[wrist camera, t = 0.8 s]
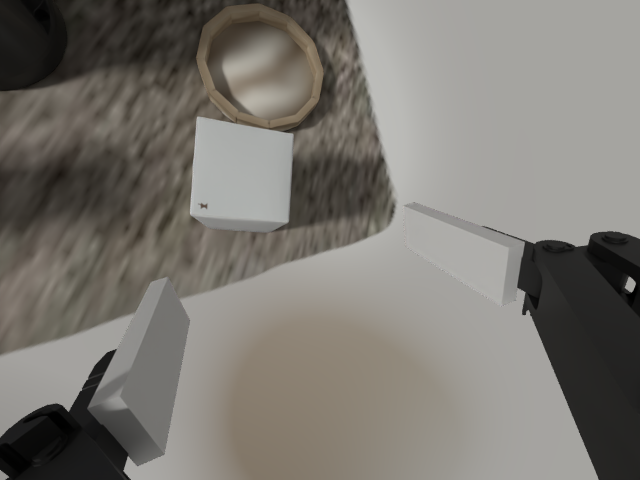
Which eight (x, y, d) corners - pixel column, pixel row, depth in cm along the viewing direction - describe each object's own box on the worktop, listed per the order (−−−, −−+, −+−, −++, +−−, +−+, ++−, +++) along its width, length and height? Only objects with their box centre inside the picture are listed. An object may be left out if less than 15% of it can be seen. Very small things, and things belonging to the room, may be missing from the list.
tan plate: (173, 67, 36) (168, 55, 34) (256, -5, 40) (257, -20, 37) (269, 156, 40) (271, 150, 37) (338, 83, 43) (343, 74, 41)
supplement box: (272, 233, 39) (290, 226, 25) (207, 229, 37) (186, 217, 23) (276, 173, 40) (296, 131, 25) (212, 164, 37) (194, 113, 23)
